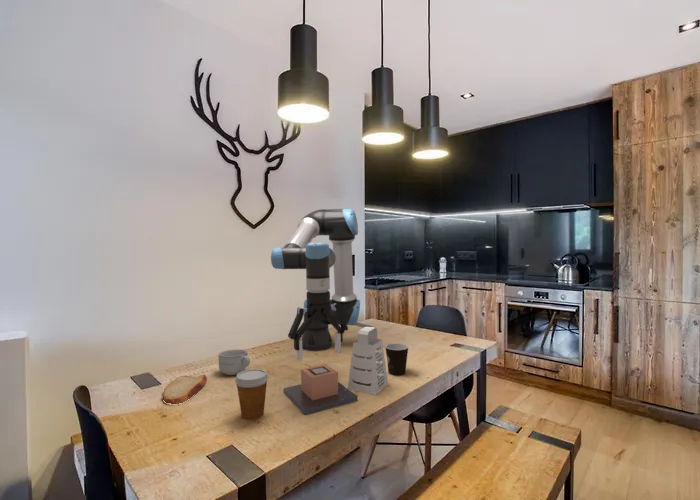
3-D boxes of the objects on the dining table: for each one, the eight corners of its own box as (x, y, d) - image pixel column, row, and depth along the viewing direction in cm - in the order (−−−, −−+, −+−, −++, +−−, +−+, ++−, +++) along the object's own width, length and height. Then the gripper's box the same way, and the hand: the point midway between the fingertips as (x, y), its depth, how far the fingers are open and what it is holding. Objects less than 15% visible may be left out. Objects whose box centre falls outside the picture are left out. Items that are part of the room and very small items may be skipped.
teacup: (213, 373, 141) (213, 352, 140) (238, 365, 149) (238, 346, 148) (232, 382, 131) (231, 360, 131) (258, 374, 139) (257, 353, 139)
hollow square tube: (301, 389, 121) (300, 368, 120) (325, 384, 125) (325, 363, 125) (312, 400, 113) (312, 377, 113) (338, 393, 117) (337, 372, 117)
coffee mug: (407, 377, 134) (407, 350, 134) (384, 376, 136) (384, 349, 135) (409, 366, 145) (409, 341, 145) (387, 365, 147) (387, 340, 147)
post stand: (283, 392, 122) (283, 367, 122) (331, 381, 131) (331, 358, 131) (304, 414, 107) (304, 386, 106) (357, 400, 116) (357, 374, 115)
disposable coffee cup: (270, 419, 104) (269, 378, 104) (235, 425, 101) (234, 382, 101) (268, 405, 113) (267, 366, 113) (235, 409, 110) (234, 370, 110)
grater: (388, 383, 129) (387, 327, 128) (375, 394, 120) (375, 334, 119) (361, 378, 134) (361, 324, 133) (347, 388, 125) (346, 330, 124)
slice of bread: (171, 409, 112) (171, 397, 112) (147, 393, 124) (147, 382, 123) (225, 390, 126) (224, 379, 126) (198, 377, 137) (198, 367, 137)
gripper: (285, 296, 108) (286, 366, 109) (357, 288, 121) (358, 352, 122) (276, 292, 115) (278, 359, 116) (346, 285, 127) (347, 346, 128)
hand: (319, 355), depth 119 cm, fingers open, 13 cm apart
